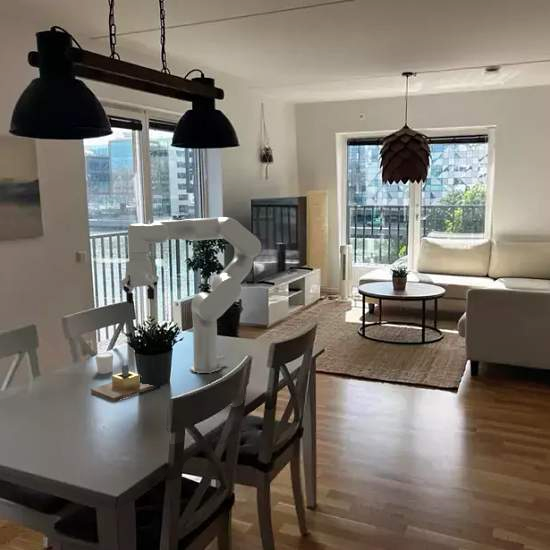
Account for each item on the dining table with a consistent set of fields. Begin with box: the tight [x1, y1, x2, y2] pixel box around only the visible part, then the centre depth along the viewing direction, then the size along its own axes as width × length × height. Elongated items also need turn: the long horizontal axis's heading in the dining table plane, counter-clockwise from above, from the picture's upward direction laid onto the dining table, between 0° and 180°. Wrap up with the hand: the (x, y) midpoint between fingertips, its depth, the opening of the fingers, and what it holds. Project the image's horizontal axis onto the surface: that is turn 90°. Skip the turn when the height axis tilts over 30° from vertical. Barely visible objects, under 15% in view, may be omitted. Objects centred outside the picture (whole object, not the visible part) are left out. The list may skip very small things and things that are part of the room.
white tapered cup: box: [95, 352, 114, 375], centre depth 228 cm, size 7×7×7 cm
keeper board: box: [90, 382, 154, 403], centre depth 208 cm, size 20×14×2 cm
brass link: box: [111, 371, 141, 390], centre depth 207 cm, size 7×7×4 cm
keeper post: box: [121, 363, 130, 378], centre depth 207 cm, size 2×2×8 cm
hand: (140, 300), depth 217 cm, fingers open, 9 cm apart
